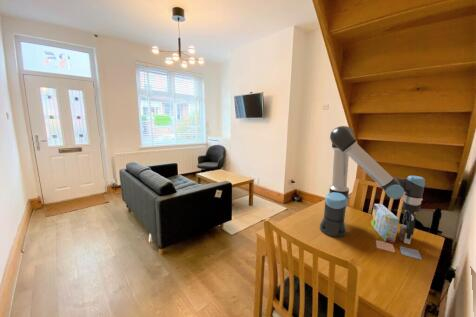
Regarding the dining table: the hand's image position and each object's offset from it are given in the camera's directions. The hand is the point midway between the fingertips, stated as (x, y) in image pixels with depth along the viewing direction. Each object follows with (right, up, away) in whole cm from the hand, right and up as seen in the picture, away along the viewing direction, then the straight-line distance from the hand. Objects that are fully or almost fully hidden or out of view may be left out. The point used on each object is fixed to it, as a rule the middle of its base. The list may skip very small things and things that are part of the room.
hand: (405, 239), depth 121 cm
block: (0, 0, 0) cm, 0 cm away
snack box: (-9, +1, +7) cm, 11 cm away
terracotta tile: (-17, -1, -7) cm, 18 cm away
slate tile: (-7, -3, -12) cm, 14 cm away
